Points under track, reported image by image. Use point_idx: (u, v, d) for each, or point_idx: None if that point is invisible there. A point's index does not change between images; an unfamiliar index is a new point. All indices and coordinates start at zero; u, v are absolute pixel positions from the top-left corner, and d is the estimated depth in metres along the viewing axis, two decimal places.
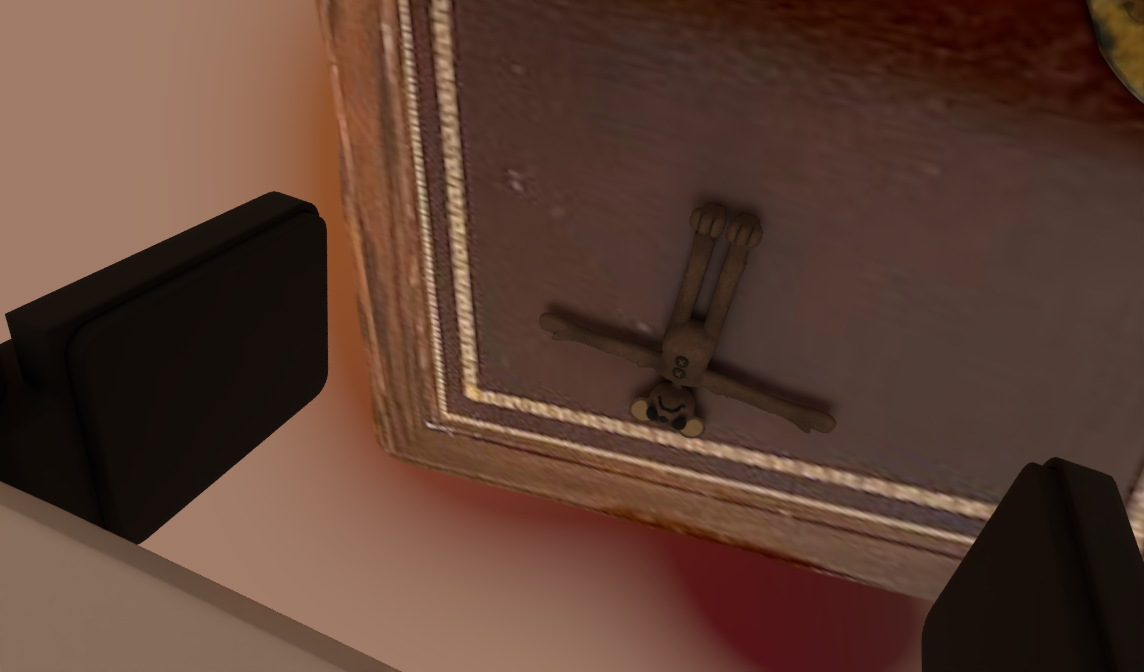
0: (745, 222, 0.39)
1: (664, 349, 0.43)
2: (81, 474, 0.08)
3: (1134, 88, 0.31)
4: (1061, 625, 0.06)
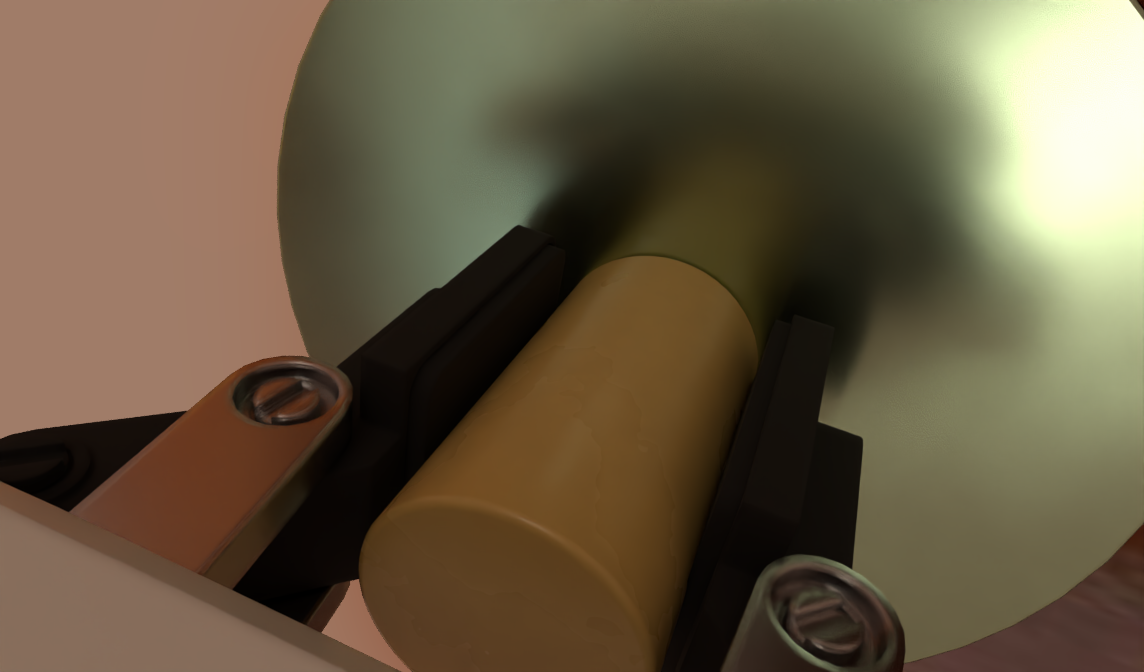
0: None
1: None
2: None
3: None
4: None
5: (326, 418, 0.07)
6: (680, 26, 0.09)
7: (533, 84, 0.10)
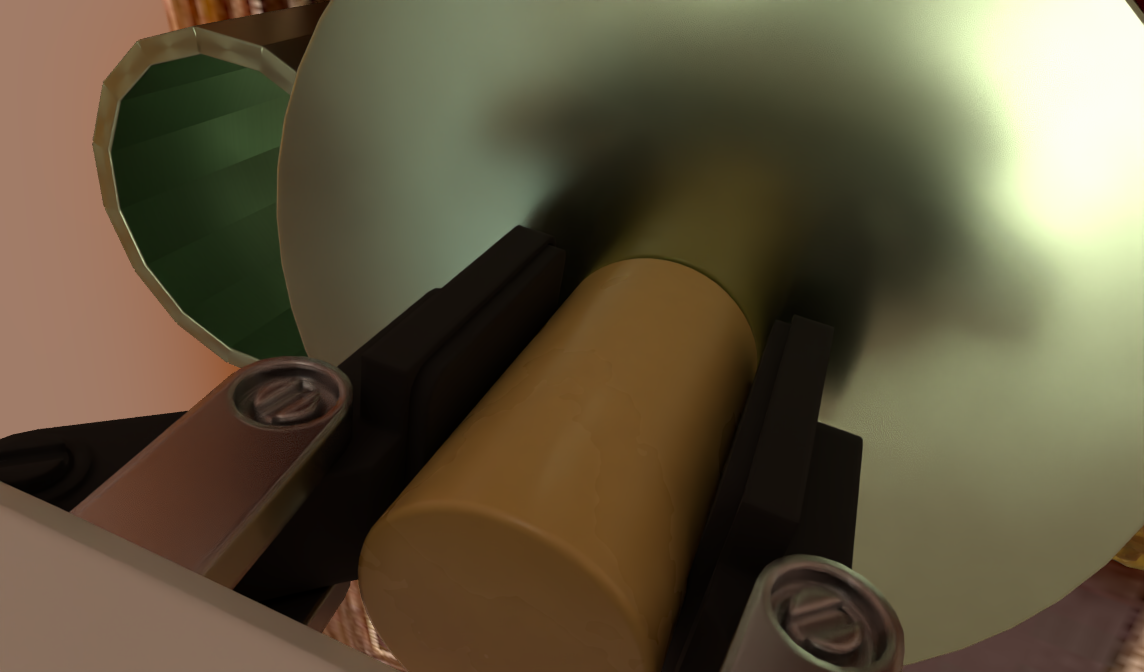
0: None
1: None
2: None
3: None
4: None
5: (326, 418, 0.07)
6: (679, 29, 0.09)
7: (533, 87, 0.10)
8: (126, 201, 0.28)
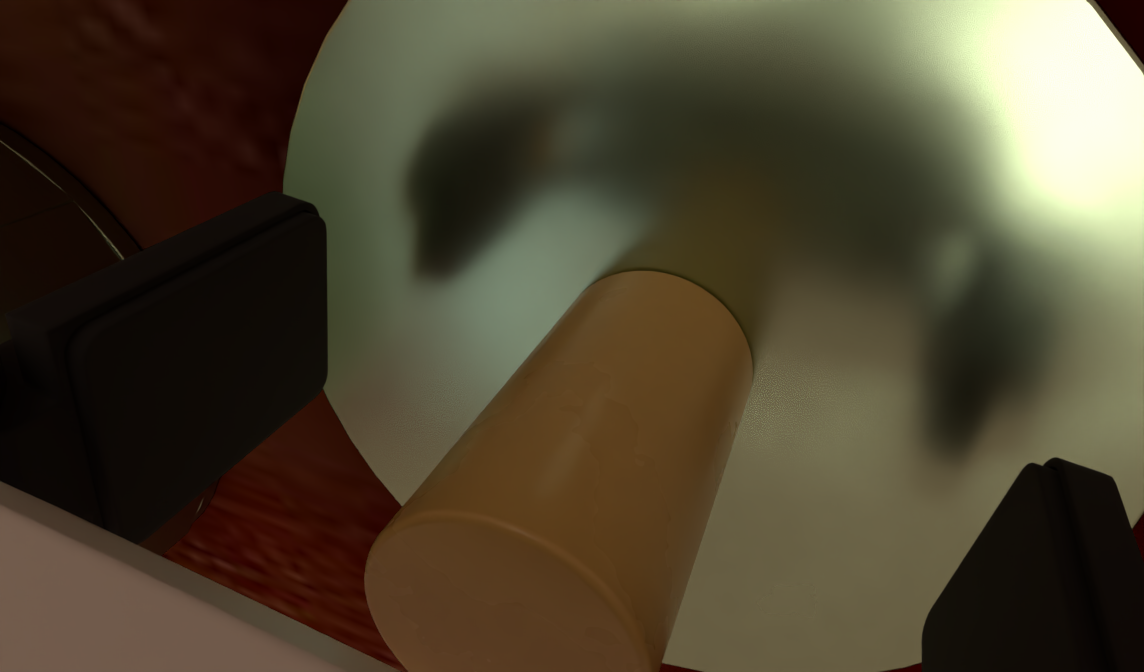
0: None
1: None
2: (81, 474, 0.08)
3: None
4: (1061, 625, 0.06)
5: None
6: (676, 49, 0.10)
7: (533, 104, 0.11)
8: None
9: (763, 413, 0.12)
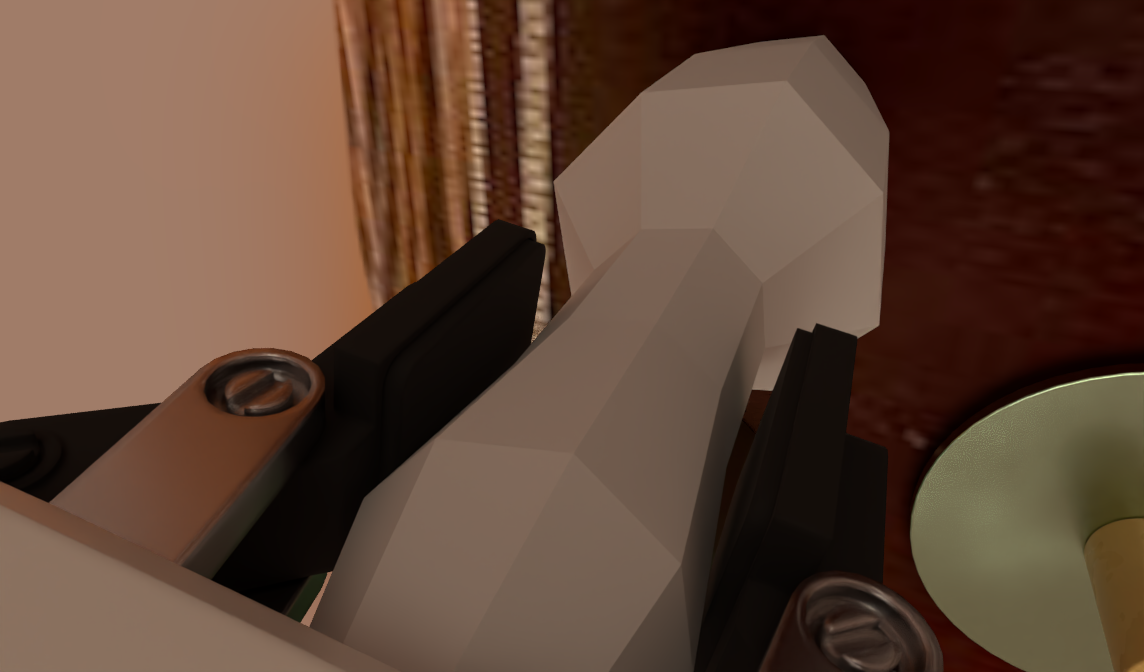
0: None
1: None
2: None
3: None
4: (770, 430, 0.08)
5: (297, 409, 0.07)
6: None
7: (1109, 450, 0.24)
8: None
9: None
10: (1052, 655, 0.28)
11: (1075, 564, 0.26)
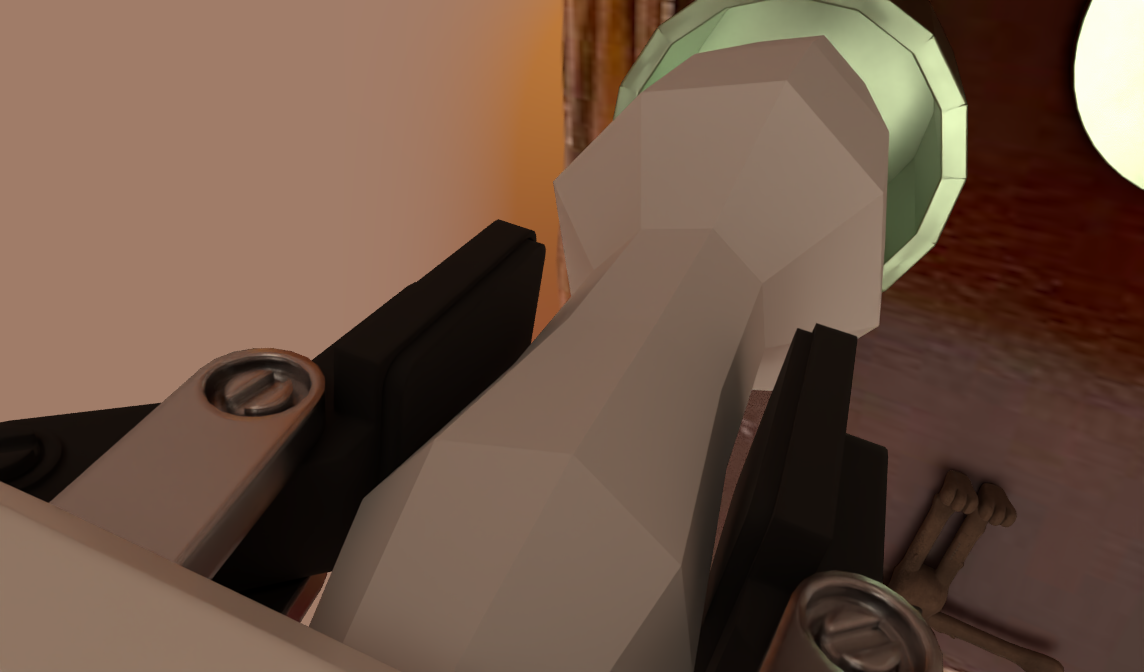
0: (997, 500, 0.41)
1: None
2: None
3: None
4: None
5: (297, 410, 0.07)
6: None
7: None
8: None
9: None
10: None
11: None
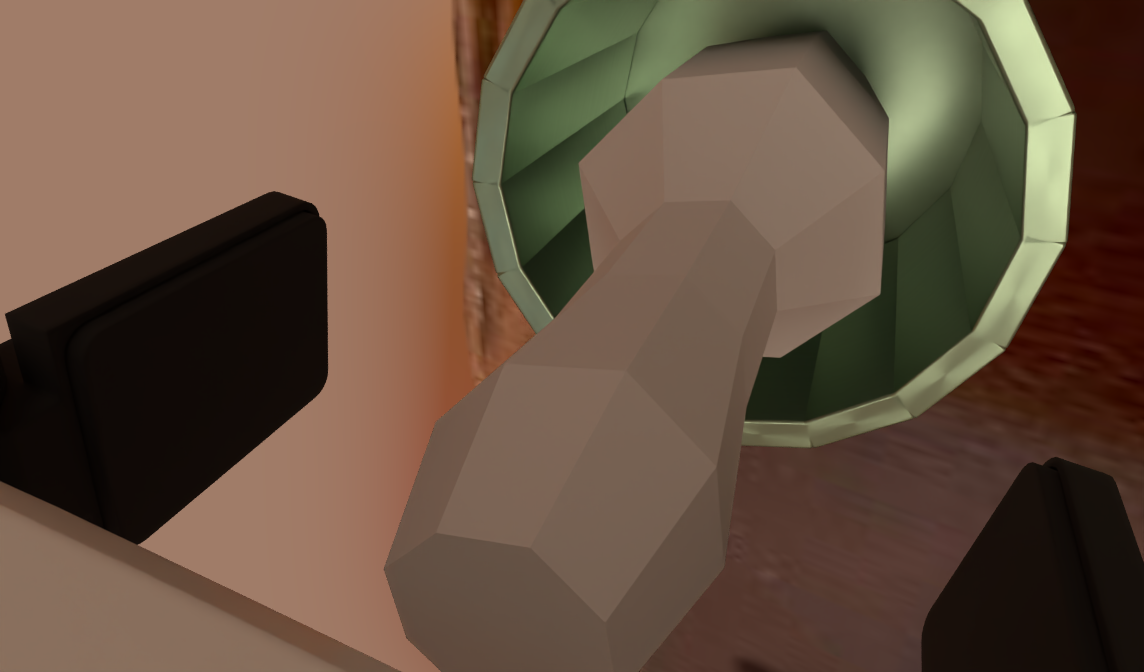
0: None
1: None
2: (81, 474, 0.08)
3: None
4: (1060, 625, 0.06)
5: None
6: None
7: None
8: (507, 172, 0.19)
9: None
10: None
11: None
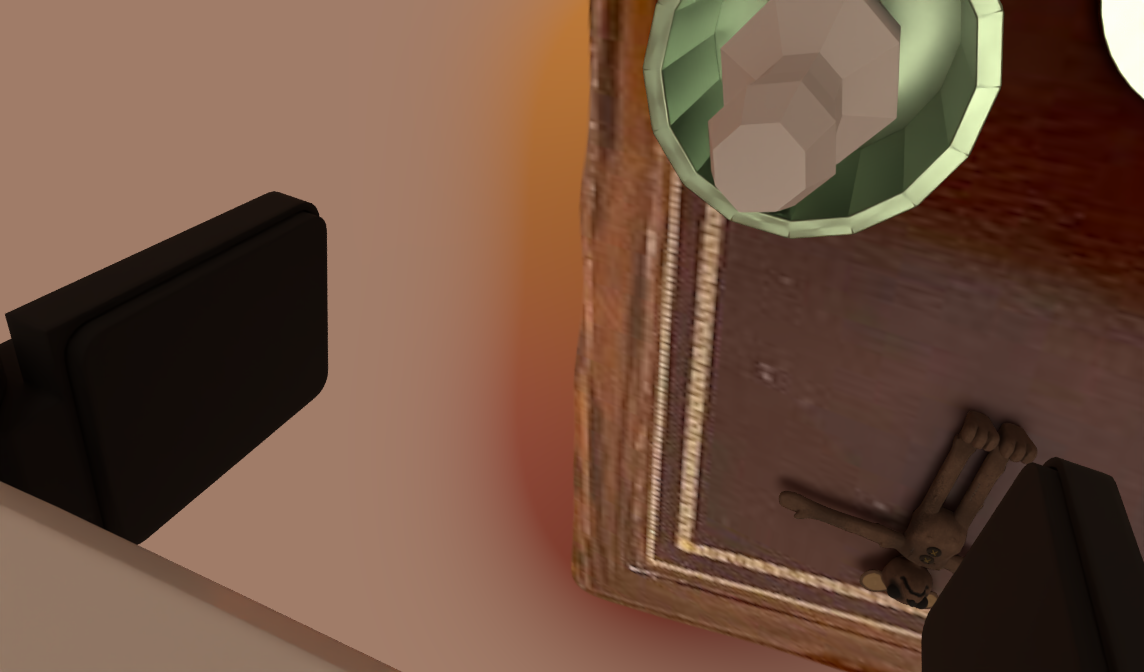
0: (1018, 438, 0.41)
1: (915, 538, 0.45)
2: (81, 474, 0.08)
3: None
4: (1061, 625, 0.06)
5: None
6: None
7: None
8: (665, 63, 0.31)
9: None
10: None
11: None
